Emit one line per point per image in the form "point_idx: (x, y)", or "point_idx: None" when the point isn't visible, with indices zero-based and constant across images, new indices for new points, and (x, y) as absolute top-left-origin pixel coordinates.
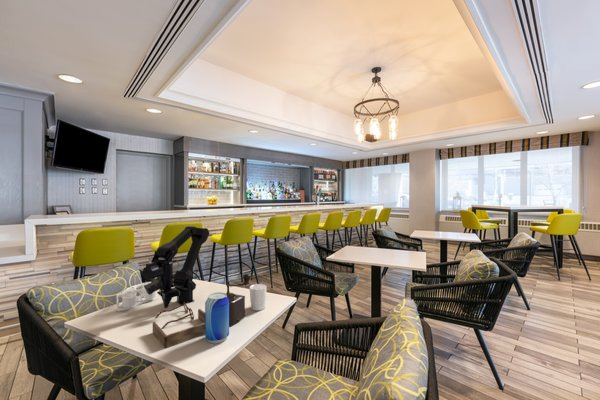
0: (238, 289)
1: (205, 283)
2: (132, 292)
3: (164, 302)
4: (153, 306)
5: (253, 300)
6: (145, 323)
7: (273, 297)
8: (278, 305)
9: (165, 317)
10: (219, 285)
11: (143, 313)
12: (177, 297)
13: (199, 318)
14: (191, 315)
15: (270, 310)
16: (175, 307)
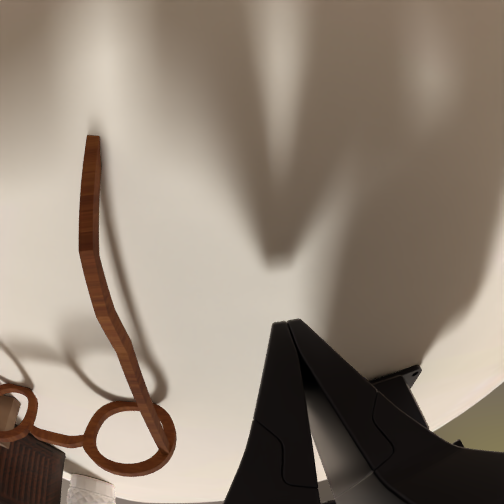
0: None
1: (451, 417)
2: None
3: (255, 410)
4: (488, 205)
5: (71, 500)
6: (6, 37)
7: (158, 500)
8: None
9: (62, 264)
10: None
11: (404, 42)
12: (405, 407)
13: (1, 401)
14: (29, 400)
15: (68, 477)
16: (145, 408)
